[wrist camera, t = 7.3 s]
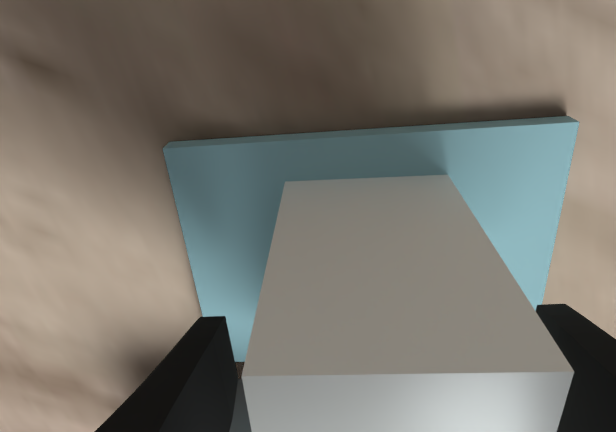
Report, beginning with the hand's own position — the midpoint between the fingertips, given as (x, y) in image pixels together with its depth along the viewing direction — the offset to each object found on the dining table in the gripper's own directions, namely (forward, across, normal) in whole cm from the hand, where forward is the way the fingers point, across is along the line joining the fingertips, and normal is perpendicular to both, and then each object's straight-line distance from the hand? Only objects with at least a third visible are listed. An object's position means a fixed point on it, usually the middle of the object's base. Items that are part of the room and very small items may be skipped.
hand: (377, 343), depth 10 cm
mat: (+4, 0, 0) cm, 4 cm away
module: (+3, 0, 0) cm, 4 cm away
